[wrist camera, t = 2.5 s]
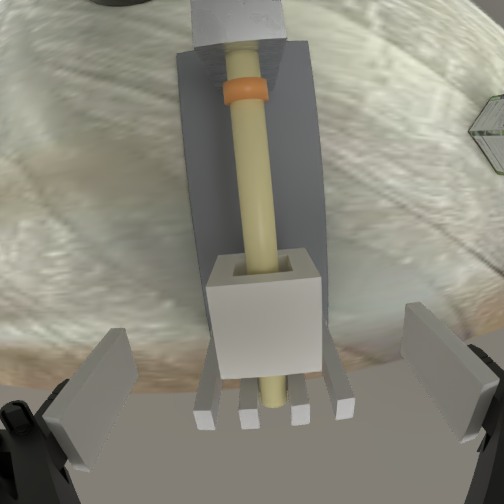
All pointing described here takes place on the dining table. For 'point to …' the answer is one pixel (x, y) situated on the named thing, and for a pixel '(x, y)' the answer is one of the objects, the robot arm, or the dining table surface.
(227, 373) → the sleeve
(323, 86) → the dining table surface
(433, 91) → the dining table surface
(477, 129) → the syrup box
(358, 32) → the dining table surface
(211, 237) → the cable comb board
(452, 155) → the dining table surface
